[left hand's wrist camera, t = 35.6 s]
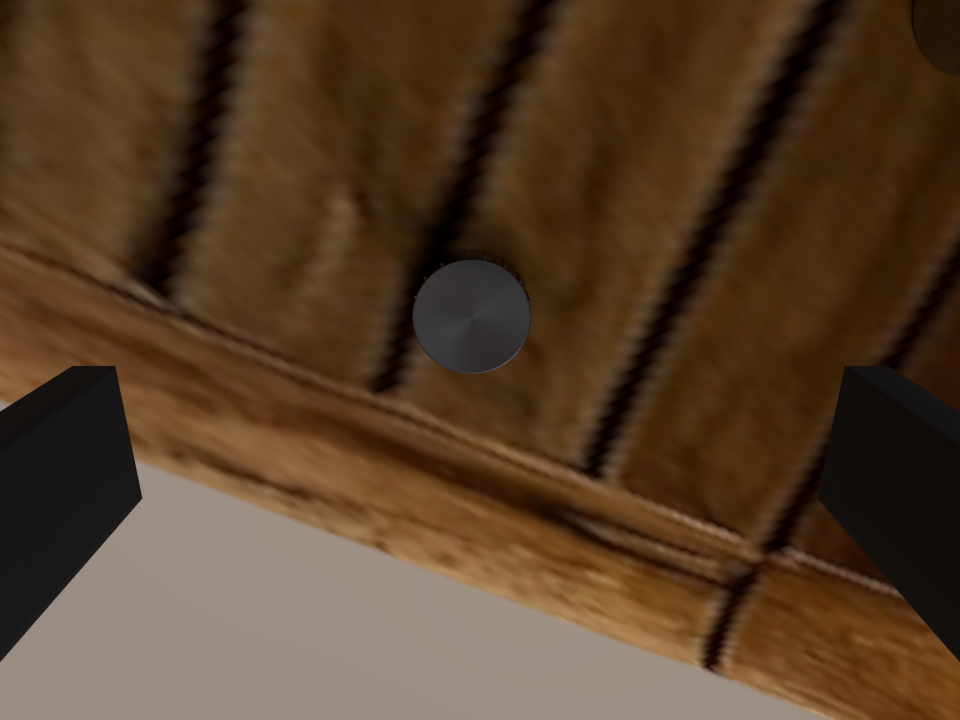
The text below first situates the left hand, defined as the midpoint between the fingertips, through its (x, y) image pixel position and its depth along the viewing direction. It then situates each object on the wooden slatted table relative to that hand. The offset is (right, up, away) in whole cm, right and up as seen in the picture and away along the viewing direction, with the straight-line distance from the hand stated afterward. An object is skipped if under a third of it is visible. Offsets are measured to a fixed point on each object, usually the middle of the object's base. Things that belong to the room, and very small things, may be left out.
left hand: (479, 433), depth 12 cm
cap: (0, +3, +10) cm, 11 cm away
